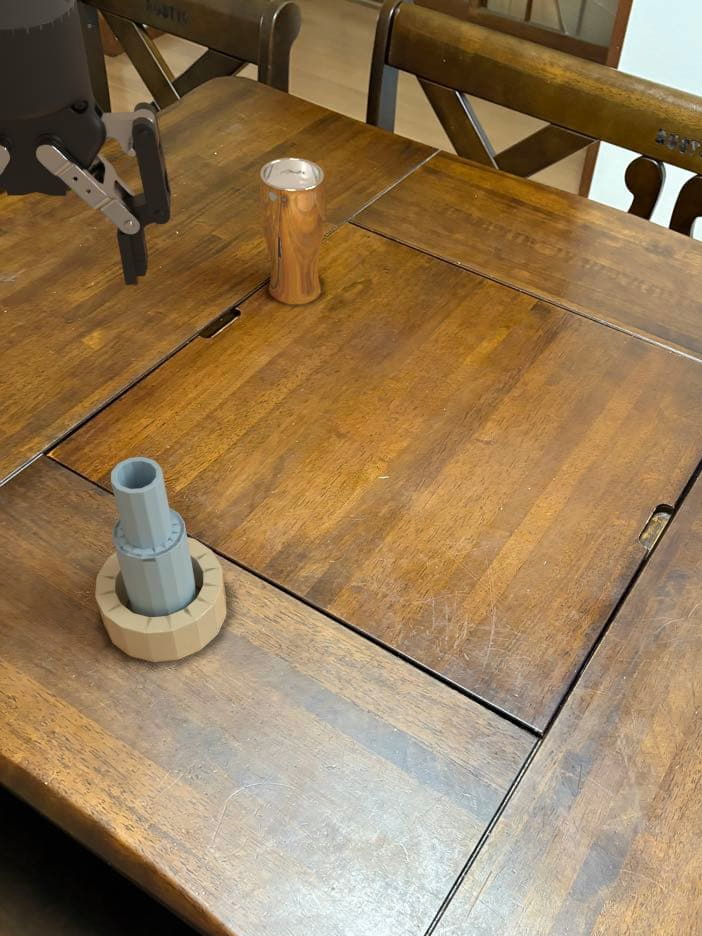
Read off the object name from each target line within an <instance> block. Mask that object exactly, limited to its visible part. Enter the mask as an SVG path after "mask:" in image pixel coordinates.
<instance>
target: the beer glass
mask: <svg viewBox="0 0 702 936" xmlns="http://www.w3.org/2000/svg"><path fill="white" fill-rule="evenodd" d="M259 172H260V173H259V174H260V185H259V188H260V189H259V213H260V214H259V215H260V223H261V229H262V235H263V238H264V242H265V247H266V250H267V255H268V258H269V264H270V280H269V286H268V292H269V294H270V295H271V296H272V297H273V298H274V299H275V300H277V301H279V302H281V303H284V304H288V305H303V304H307V303H310V302H312V301H314V300H316V299H317V298H318V297H319V296H320V294H321V290H322V288H321V283H320V280H319V279H320V278H319V261H320V255H321V250H322V246H323V245H322V244H323V240H324V234H325V229H326V215H327V209H326V190H325V173H324V170H323V169H322V168H321V167H320V165H319V164H317V163H315V162H313V161H311V160H308V159H304V158H299V157H282V158H277V159H273V160H270V161H269V162H267V163H265V164H264V165H263V166H262V167H261V169H260V171H259Z"/></svg>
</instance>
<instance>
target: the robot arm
mask: <svg viewBox="0 0 702 936" xmlns="http://www.w3.org/2000/svg"><path fill="white" fill-rule="evenodd" d="M82 30H83V29H82V24H81V19H80V13H79V7H78V0H0V190H2V191H4V192H6V195H7V196H13V197H17V196H18V197H19V196H22V197H23V196H27V195H30V194H31V195H32V194H35V193H38V194H43V195H47V196H51V197H66V196H67V193H68V192H71V191H73V192H74V193H75V194H76V195H77V196H78V197H79V198H80V199H82V200H83V202H84V203H86V204H87V205H88V206H89V207H90V208H91V209H92V210H94V211H99V212H100V213H102V214H103V215H104V216H105V217H106V218H107V219H108V220H109V221H110V222H111V223H113V224H114V225H115V226H116V228H117V231H116V239H117V243H118V249H119V254H120V261H121V267H122V273H123V279H124V284H125V286H138V285H139V277H146V274H147V271H148V264H149V253H148V246H147V245H148V244H147V239H146V238H147V237H146V233H145V228H146V227H147V226H149V225H151V224H156V225H165V224H167V223H169V221H170V219H171V208H172V207H171V204H172V191H171V185H170V179H169V175H168V169H167V164H166V158H165V152H164V146H163V142H162V137H161V136H162V135H161V130H160V126H159V121H158V116H157V115H158V113H157V111H156V108H155V107H154V106H153V105H152V104H151V103H148V102H145V101H143V102H138V103H137V104H136V105H135V106H134V108H133V111H121V112H120V111H119V112H118V111H117V112H104V110H103V109H102V107H100V105H99V103H98V102H97V100H96V98H95V95H94V93H93V88H92V83H91V77H90V71H89V65H88V60H87V54H86V47H85V41H84V36H83V35H84V34H83V31H82ZM108 138H110V139H113V140H115V141H116V142H118V144H119V145H120V147H121V150H122V151H123V152H124V154H126V155H127V156H129V157H130V158H136V161H137V166H138V169H139V170H138V171H139V175H140V180H141V185H142V189H143V192H141V193H137V194H136V193H135V192H134V191H133V190H132V189H131V188H130V187H129V186H128V185H127V184H126V183H125V182H124V181H123V179H121V177H119V176H118V174H117V171H116V169H115V168H114V166H113V165H112V164H111V163H110V162H109V160H107V158H105V157H104V156H103V154H101V153H100V152H101V150H102V149H103V147H104V146H105V144H106V141H107V139H108Z"/></svg>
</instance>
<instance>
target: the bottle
mask: <svg viewBox="0 0 702 936" xmlns="http://www.w3.org/2000/svg"><path fill="white" fill-rule="evenodd" d="M110 484H111V487H112V493H113V496H114V500H115V504H116V508H117V512H118V515H119V518H118V519H117V520H116V522H115V524H114V525H113V527H112V543H113V546H114V549H115V552H116V554H117V558H118V562H119V565H120V569H121V573H122V576H123V580H124V584H125V587H126V591H127V595H128V598H129V599H128V601H129V605H130V609H131V612H133V613H134V614H138V615H142V616H146V617H161V616H168V615H171V614H173V613H176V612H178V611H181V610H183V609H185V608H186V607H187V606H189V605H190V604H191V603H192V602H193V601H194V600H195V599H197V597H198V592H197V586H196V585H195V580H194V574H193V568H192V562H191V557H190V551H189V545H188V539H187V537H188V535H187V534H188V533H187V529H186V524H185V521H184V519H183V517H182V516H181V515H180V513H179V512H177V511H176V510H174V509H173V508H171V507H170V505H169V500H168V495H167V490H166V484H165V479H164V473H163V469H162V467H161V466H160V464H159V463H158V462H157V461H155V460H154V459H151V458H148V457H145V456H135V457H128V458H126V459H124V460H122V461H120V462H118V463H117V464H116V465H115V467H114V468H113V469H112V470H111V472H110Z"/></svg>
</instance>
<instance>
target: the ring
mask: <svg viewBox="0 0 702 936" xmlns="http://www.w3.org/2000/svg"><path fill="white" fill-rule="evenodd" d="M187 539H188V545H189V551H190V557H191V562H192V568H193V574H194V580H195V585H196V588H199V589H200V591H199V593H198V594H197V599H195V600H194V601H193V602H192V603H191V604H190V605H189V606H187V607H186V608H185V609H183V610H181V611H178V612H176V613H173V614H171V615H168V616H161V617H146V616H142V615H138V614H134V613H133V612H132V610H130V609H128V608H127V607H126V606H127V603H128V601H129V598H128V595H127V591H126V587H125V584H124V580H123V576H122V573H121V569H120V565H119V562H118V558H117V554H116V551H115V552H113V553H112V554H111V555H110V556H108V557H107V558H106V560H105V562H103V563H104V564H103V565H102V566H101V568H100V570H99V571H98V574H97V575H96V578H95V579H96V580H95V581H96V582H95V591H94V595H95V596H94V597H95V601H96V604H97V607H98V610H99V613H100V616H101V619H102V622H103V626H104V629H105V630H106V632H107V634H108V636H109V638H110V640H111V643H112V644H113V645H114V646H115V647H117V648H118V649H120V650H121V651H122V652H124V653H125V654H126V655H128V656H129V657H132V658H136V659H139V660H143V661H147V662H151V663H153V662H154V663H159V662H169V661H178V660H181V659H184V658H186V657H187V656H190V655H192V654H194V653H197V652H200V651H201V650H202V649H203V648H205V647H206V646H207V645H208V644H209V643H210V642H211V641H212V640H213V639H214V638H215V637H216V636H217V635H218V634H219V633H220V631H221V629H222V626H223V624H224V621H225V620H226V618H227V595H226V589H225V580H224V574H223V567H222V565H221V563H220V561H219V560H218V558H217V557H216V555H215V553H214V552H213V550H212V549H210V548H209V547H207V546H206V545H204V544H203V543H201V542H200V541H198V540H197V539H195V538H193V537H189V536H187Z"/></svg>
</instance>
